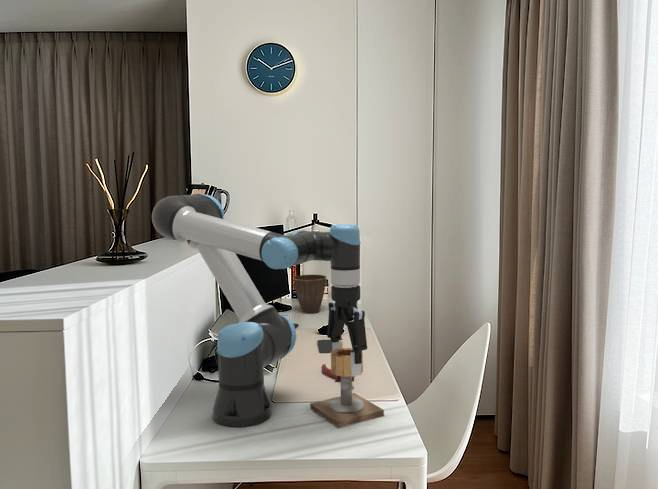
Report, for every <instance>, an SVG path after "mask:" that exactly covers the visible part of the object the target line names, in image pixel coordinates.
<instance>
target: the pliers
mask: <svg viewBox="0 0 658 489" xmlns="http://www.w3.org/2000/svg"><path fill="white" fill-rule="evenodd" d="M321 371H322V374H323V375H324V374H325V375H324V376H326V375H327V376H326V377H328V376H329V377H328V378H330V377H331V379H333V378H334V379H333V380H334V382H335V383H336V382H337V383H341V376H337V375H334V374H332V373H331V369H330V368H328V367H327V365H326V363H323V364H321ZM338 381H340V382H338ZM354 381H355V376H354V377H352V390H353V389H355V387H354V384H353V382H354Z"/></svg>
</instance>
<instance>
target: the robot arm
mask: <svg viewBox="0 0 658 489" xmlns="http://www.w3.org/2000/svg"><path fill="white" fill-rule="evenodd" d="M224 216H225V212H224V208H223V206H222V204H221V203H220V201H219V200H218V199H216V198H215V197H214V196H212V195H210V194H202V193H194V194H183V195H168V196H166V197H164V198H161V199H160V200H159V201H158V202H157V203H156V204H155V205H154V207H153V210H152V213H151V221H152V224H153V227H154V229H155V231H156V232H157V233H159V234H160V235H161V236H162V237H165V238H168V239H171V240H175V241H179V242H182V243H183V242H187V244H188V246H189V247H190V248H192V249H197V250H198V252H199V255H201V257H202V259H203V261H204V262H205V264H206V265H207V267H208V269H209V270H210V272H211V274H212V276H213V277H214V279H215V281H216V283H217V284H218V286H219V288H220V289H221V292H222V293H223V295H224V296H225V297H226V299H227V301H228V303H229V305H230V306H231V308H232V310H233V312H234V314H235V315H236V317H237V319H238V323H231V324H228V325H227V326H225V327H223V328H222V329H221V330H220V331H219V333H218V335H217V344H216V351H217V370H218V372H217V373H218V375H217V376H218V390H217V394H216V396H215V400H214V404H213V407H212V417H213V420H214V421H215V423H217V424H220V425H222V426H226V427H235V428H236V427H238V428H239V427H249V426H255V425H258V424H261V423H264V422H265V421H267V420H268V419H269V418H270V417H271V415H272V403H271V400H270V397H269V394H268V392H267V389H266V386H265V378H264V377H265V373H264V372H265V370H264V368H266V367H267V366H269V365H271V364H273V363H275V362H276V361H279V360H281V359H283V358H285V357H286V356H287V355H288V354H290V353H291V352H292V351H293V348H295V345H296V340H297V331H296V328H295V327H294V325H293V324H294V322H292V321H291V320H290V318H289V317H287V316H284V315H283V314H279V315H278V313H279V312H278V313H277V311H278V310H277V311H276V310H275V307H274V306H273V305H271V304H267V303H266V302H265V300H264V299H263V296H262V295H261V294H260V291H259V290H258V289H257V287H256V285H255V283H254V282H253V280H252V279H251V277H250V275H249V273H248V272H247V271H246V269H245V268H244V265H243V264H242V262H241V260H240V258H239V257H238V255H241V256H244V257H247V258H251V259H254V260H259V261H262V262H264V263H265V265H266V266H267V267H268V268H270V269H273V270H285V269H288V268H290V267H291V268H292V267H294V266H297V265H301V264H303V263H307V262H311V261H324V262H330V283H331V285H332V286H331V287H330V288H331V289H330V297H331V300H332V301H333V302H332V301H331V302H328V305H327V306H328V321H327V329H326V330H327V331H326V337H327V338H328V339H329V340H331V342H332V351H333V350H335V349H340V348H344V347H343V339H344V338H342V335H343V331H344V329H345V328H344V327H345V326H346V327H347V331H348V335H349V340H350V344H351V348H352V349H353V350H350V351H351V376H352V377H354V378H355V377H357V376H361V375H362V373H361V363H362V353H363V351H367V350H368V340H367V333H366V324H365V317H366V316H365V315H366V312H365V310H359V308H358V303H357V302H358V301H360V299H361V285H360V283H361V236H360V227H358V226H357V225H356V224H351V223H349V224H343V223H340V224H339V223H338V224H333V225H331V226H330V228H329V229H330V230H329V231H325V232H324V231H311V230H310V231H309V230H308V231H307V230H298V231H297V230H296V231H295V230H294V231H292V232H290V234H289V235H286V234H282V233H281V234H280V233H277V232H273V231H269V230H266V229H262V228H258V227H254V226H250V225H246V224H243V223H241V222H236V221H232V220H227V219H225V217H224ZM237 254H238V255H237Z"/></svg>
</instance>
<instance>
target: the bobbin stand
mask: <svg viewBox="0 0 658 489" xmlns="http://www.w3.org/2000/svg"><path fill="white" fill-rule="evenodd" d="M352 383H353V381H352V376H348V377H344V376H341V382H340V396H336V397H331V398H327V399H324V400H323V399H322V400H320V401H316V402H310V403H309V404H310V405H309V406H310V410H311V411H313V412H314V413H316V414H317V415H319V416H320V417H321V418H323V419H324V420H326V421H327V422H328V423H330V424H332V425H333V426H334V427H336V428H338V429H340V428H343V427H346V426H351V425H353V424H357V423H361V422H365V421H368V420H372V419H376V418H380V417H385V410H384V409H383V408H381V407H379V406H378V405H377V404H374V403H373V402H371V401H369V400H367V399H366V398H364V397H363V396H360V395H359V394H357V393H354V392H353V388H352Z"/></svg>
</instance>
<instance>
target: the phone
mask: <svg viewBox="0 0 658 489" xmlns="http://www.w3.org/2000/svg"><path fill="white" fill-rule="evenodd" d="M317 351H318V354H331V351H332V342H331V339H318V340H317Z"/></svg>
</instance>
